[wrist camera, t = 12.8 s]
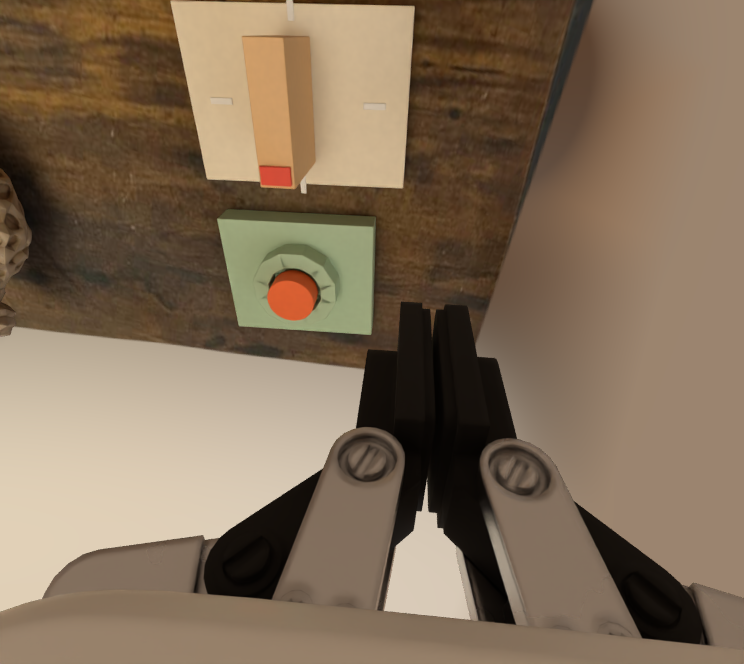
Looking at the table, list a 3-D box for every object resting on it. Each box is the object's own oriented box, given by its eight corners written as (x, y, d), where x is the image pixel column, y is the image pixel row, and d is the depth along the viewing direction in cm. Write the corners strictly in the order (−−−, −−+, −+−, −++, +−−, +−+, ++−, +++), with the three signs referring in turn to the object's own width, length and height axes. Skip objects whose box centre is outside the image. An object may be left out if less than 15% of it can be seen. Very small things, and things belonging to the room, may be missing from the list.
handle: (276, 35, 24) (239, 35, 19) (309, 36, 24) (281, 37, 19) (286, 160, 28) (259, 188, 23) (315, 162, 28) (294, 190, 23)
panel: (415, -5, 25) (415, -9, 23) (403, 186, 31) (402, 198, 29) (186, -10, 25) (165, -14, 23) (221, 178, 32) (207, 188, 30)
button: (316, 271, 32) (312, 282, 30) (319, 310, 34) (315, 322, 33) (270, 268, 32) (264, 279, 31) (276, 307, 34) (269, 319, 33)
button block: (375, 216, 33) (371, 236, 30) (373, 321, 39) (369, 347, 35) (227, 208, 33) (207, 227, 30) (246, 312, 39) (231, 337, 36)
